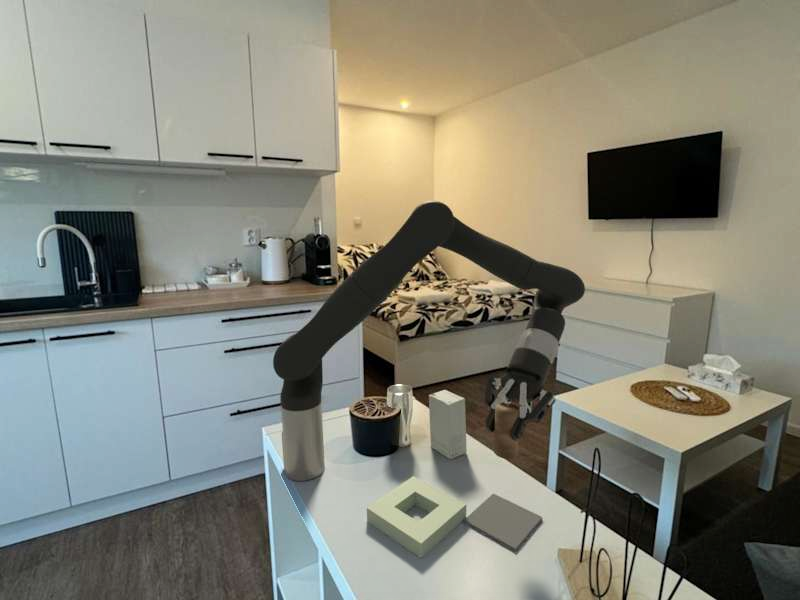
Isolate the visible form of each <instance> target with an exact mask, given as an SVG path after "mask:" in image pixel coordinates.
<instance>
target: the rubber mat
mask: <svg viewBox="0 0 800 600" xmlns="http://www.w3.org/2000/svg"><path fill="white" fill-rule="evenodd" d="M542 520H543V516H541V515H539V514H538V513H535V512H534V511H531V510H529V509H527V508H524V507H522V506H520V505H519V504H516V503H514V502H512V501H510V500H507V499H506V498H504V497H502V496H499V495H498V494H496V493H492V494H491V495H490V496H489V497H487V498H486V499H485V500H484V501H483V502H482V503H481V504H480V505H479V506H478V507H476V508H475V510H473V511H472V512H471V513H470V514H469V515H468V516H466V518H465V519H464V520H463V523H464V524H465V525H468V526H469V527H470V528H473V529H475V530H476V531H477V532H480V533H482V534H483V535H485V536H487V537H489V538H491V539H492V540H494V541H496V542H498V543H499V544H501V545H503V546H505V547H506V548H508V549H509V550H512V551H513V552H516V551H517V550H518V549H519V548H520V547H521V546H522V544H523V543H524V542H525V541H526V539H527V538H528V537H529V536H530V535H531V534H532V532H533V531H534V530H535V529H536V528H537V527H538V525H539V524H540V523H541V521H542Z"/></svg>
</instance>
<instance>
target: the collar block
mask: <svg viewBox="0 0 800 600" xmlns="http://www.w3.org/2000/svg"><path fill="white" fill-rule="evenodd" d="M415 505H416V506H417V507H419V508H421V509H422V510H424V511H426V512H428V513H427V515H425V516H424V517H422V519H420V520H419V521H418V520H416V519H415V518H413V517H411V516H410V515H408V514H407V513H406V512H407V511H409V510H410V509H412V507H414V506H415ZM466 518H467V503H465V502H464V501H462V500H460V499H458V498H455V497H454V496H452V495H451V494H449V493H446V492H444V491H442V490H441V489H438V488H437V487H435V486H433V485H431V484H429V483H427V482H426V481H423V480H421V479H420V478H418V477H415V475H413V476H412V477H410V478H409V479H407V480H405V481H403V483H401V484H400V485H398V486H396V487H395V488H394V489H392V490H391V491H390V492H388V493H386V494H385V495H384V496H382V497H380V498H379V499H378V500H376V501H375V502H373V503H371V504H370V505H369V506H367V507H366V520H367V521H366V522H368V523H369V524H371V525H372V526H374V527H375V528H377V530H379V531H381V532H382V533H384V534H385V535H386V536H388V537H390V538H391V539H392V540H393V541H395V542H396V543H398V544H400V545H401V546H402V547H404V548H406V549H407V550H408V551H410V552H411V553H412V554H415V556H417V557H418V558H419V559H423V558H424V557H425V555H427V554H428V553H429V552H430V551H431V550H432V549H434V547H436V545H438V544H439V543H440V542H441V541H442V540H443V539H445V538H446V537H447V536H448V535H449V534H450V533H451V532H452V531H453V530H455V528H456V527H458V526H459V525H460V524H461V523H462V522H464V520H465V519H466Z"/></svg>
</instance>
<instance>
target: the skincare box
mask: <svg viewBox="0 0 800 600" xmlns="http://www.w3.org/2000/svg"><path fill="white" fill-rule="evenodd" d="M428 406H429V408H428V409H429V433H430V447H431V448H432V449H434V450H436V451H437V452H439V453H440V454H441V455H443V456H444V457H446V458H447V459H448V460H452V459H454V458H457V457H460V456H463V455H465V454H466V453H467V425H466V423H467V422H466V420H467V419H466V398H464V397H463V396H460V395H457V394H456V393H453V392H451V391H448V390H447V389H443V390H440V391H437V392H434V393H431V394H429V395H428Z"/></svg>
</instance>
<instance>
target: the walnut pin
mask: <svg viewBox="0 0 800 600" xmlns="http://www.w3.org/2000/svg"><path fill="white" fill-rule="evenodd" d="M519 413H520V407H519V406H517V405H515V404H511V403H510V404H507V403H503V404H498V405H496V406H495V430H494V432H493V433H494V437H493V438H494V440H493V442H494V443H493V451H494V452H493V453H494V454H495V456H497V457H498V458H501V459H509V460H510V459H514V458H517V457H518V455H519V439H518V440H517V441H515V440H513V439H512V438H511V437H510V434H511V431H512V429H513V426H514V424H515V422H516V419H517V418H519V417H520V416H519Z"/></svg>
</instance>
